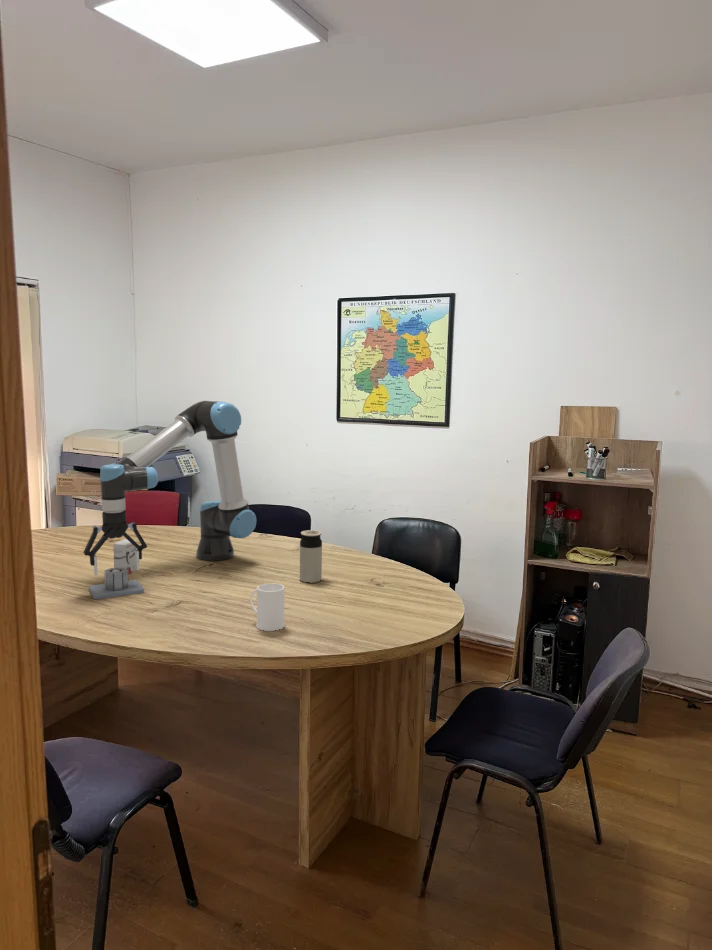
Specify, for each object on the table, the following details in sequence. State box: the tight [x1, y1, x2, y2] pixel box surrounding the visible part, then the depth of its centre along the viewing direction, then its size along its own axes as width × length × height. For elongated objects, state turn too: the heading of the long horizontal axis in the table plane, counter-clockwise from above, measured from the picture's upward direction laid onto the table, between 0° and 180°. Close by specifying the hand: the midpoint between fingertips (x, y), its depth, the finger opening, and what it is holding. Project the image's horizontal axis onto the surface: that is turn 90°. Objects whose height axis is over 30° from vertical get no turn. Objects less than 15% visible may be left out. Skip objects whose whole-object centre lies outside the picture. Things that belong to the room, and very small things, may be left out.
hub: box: [103, 567, 129, 591], centre depth 225 cm, size 7×7×6 cm
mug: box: [249, 582, 286, 632], centre depth 197 cm, size 12×8×12 cm
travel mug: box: [299, 529, 323, 583], centre depth 241 cm, size 8×8×18 cm
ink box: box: [113, 538, 138, 575], centre depth 246 cm, size 9×5×12 cm, turn 168°
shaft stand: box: [88, 570, 145, 600], centre depth 225 cm, size 16×12×7 cm
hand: (117, 571), depth 225 cm, fingers open, 13 cm apart
